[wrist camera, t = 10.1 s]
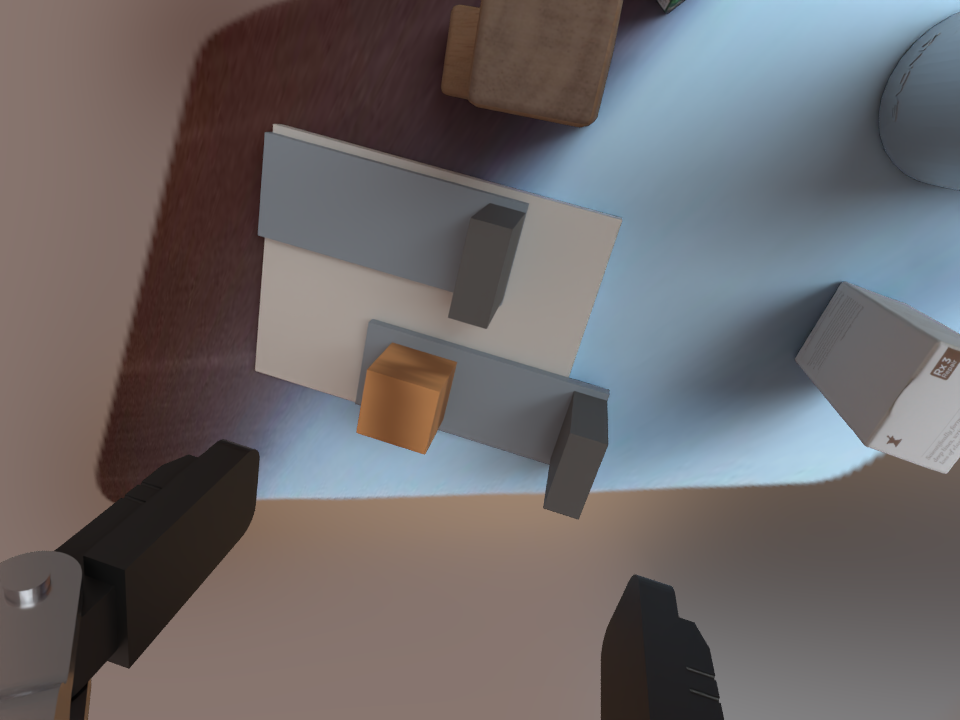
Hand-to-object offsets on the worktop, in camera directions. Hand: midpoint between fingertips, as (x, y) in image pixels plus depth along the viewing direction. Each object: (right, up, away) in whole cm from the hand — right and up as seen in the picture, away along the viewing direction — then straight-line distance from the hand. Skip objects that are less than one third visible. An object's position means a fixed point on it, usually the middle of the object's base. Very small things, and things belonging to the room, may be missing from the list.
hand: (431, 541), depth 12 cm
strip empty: (-5, +13, +27) cm, 31 cm away
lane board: (-3, +8, +31) cm, 32 cm away
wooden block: (+4, +22, +23) cm, 32 cm away
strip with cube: (+1, +1, +31) cm, 31 cm away
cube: (-4, +2, +31) cm, 31 cm away
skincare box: (+25, +6, +26) cm, 36 cm away
